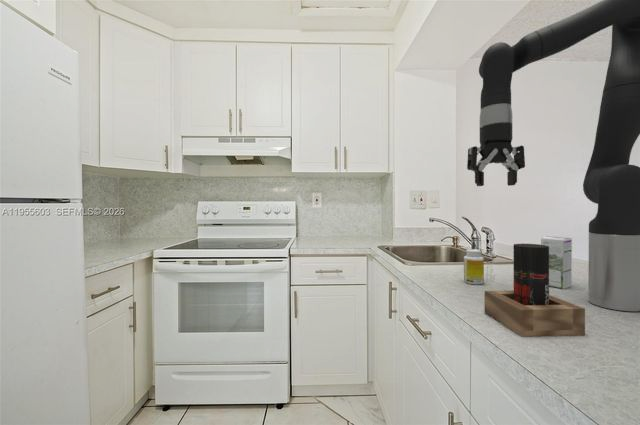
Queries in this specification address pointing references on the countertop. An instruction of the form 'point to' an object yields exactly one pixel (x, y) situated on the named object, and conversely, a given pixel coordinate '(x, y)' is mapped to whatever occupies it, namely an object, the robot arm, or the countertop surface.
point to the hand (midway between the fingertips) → (495, 185)
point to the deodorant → (531, 274)
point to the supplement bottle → (474, 267)
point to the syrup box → (559, 261)
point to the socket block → (535, 315)
